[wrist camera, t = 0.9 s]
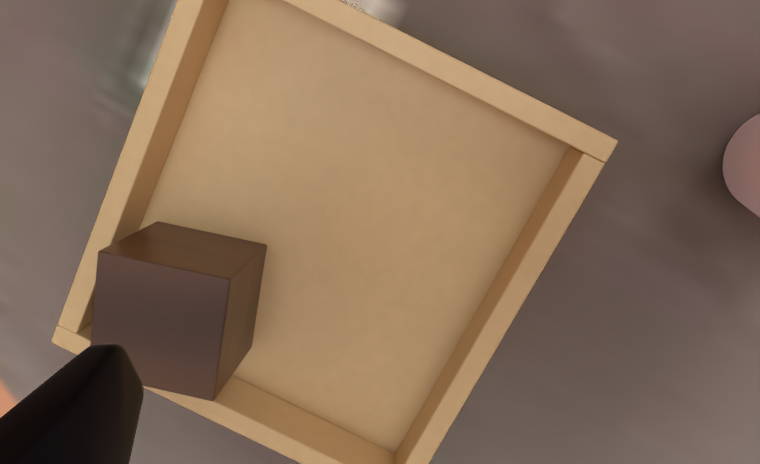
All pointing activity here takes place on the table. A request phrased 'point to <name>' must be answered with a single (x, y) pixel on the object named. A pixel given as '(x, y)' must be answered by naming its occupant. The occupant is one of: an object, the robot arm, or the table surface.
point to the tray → (345, 216)
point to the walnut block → (179, 305)
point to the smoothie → (744, 165)
